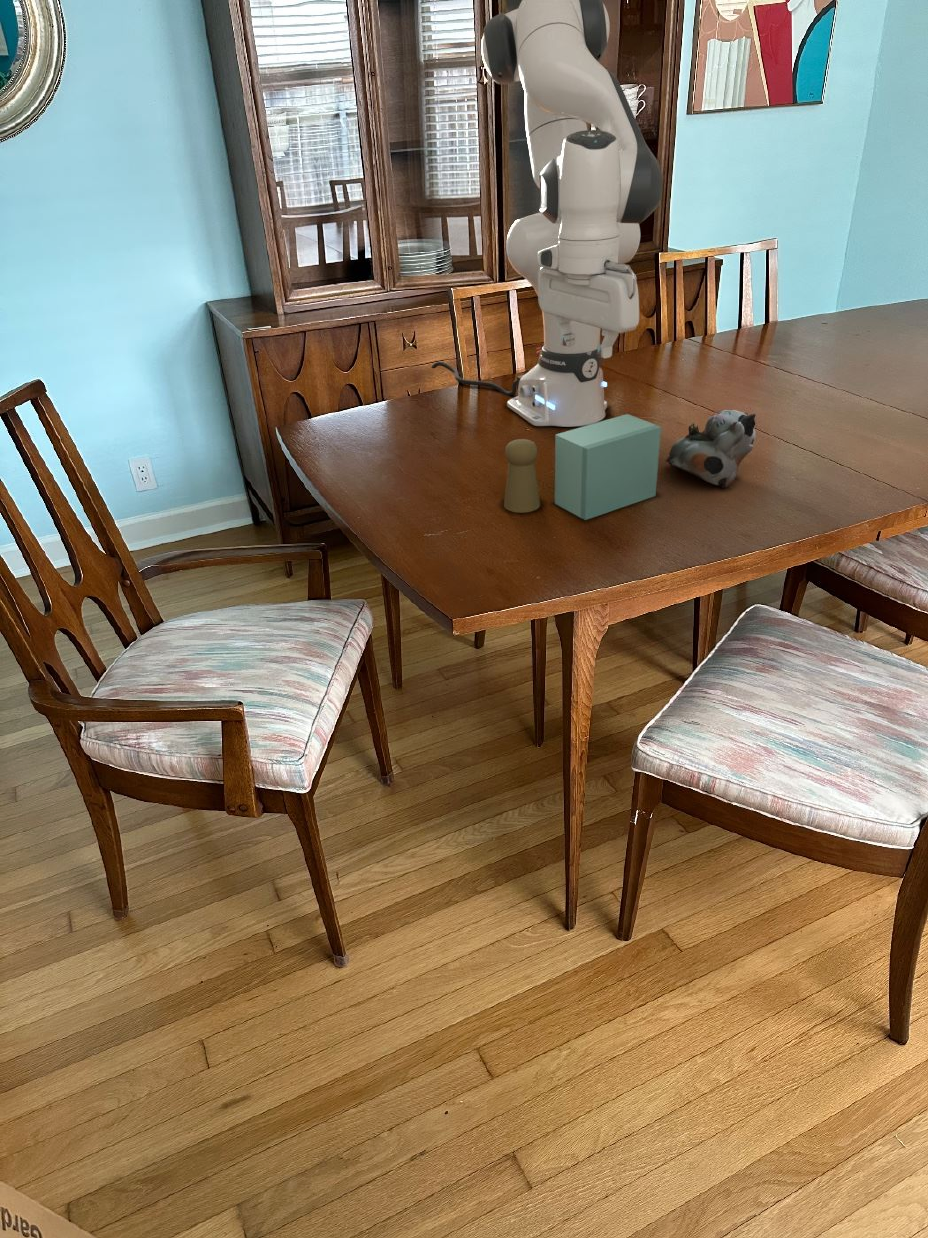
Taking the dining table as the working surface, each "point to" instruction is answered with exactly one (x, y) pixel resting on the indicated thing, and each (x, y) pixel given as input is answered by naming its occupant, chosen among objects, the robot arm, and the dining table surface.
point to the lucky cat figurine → (715, 447)
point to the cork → (521, 477)
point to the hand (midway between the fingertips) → (585, 351)
